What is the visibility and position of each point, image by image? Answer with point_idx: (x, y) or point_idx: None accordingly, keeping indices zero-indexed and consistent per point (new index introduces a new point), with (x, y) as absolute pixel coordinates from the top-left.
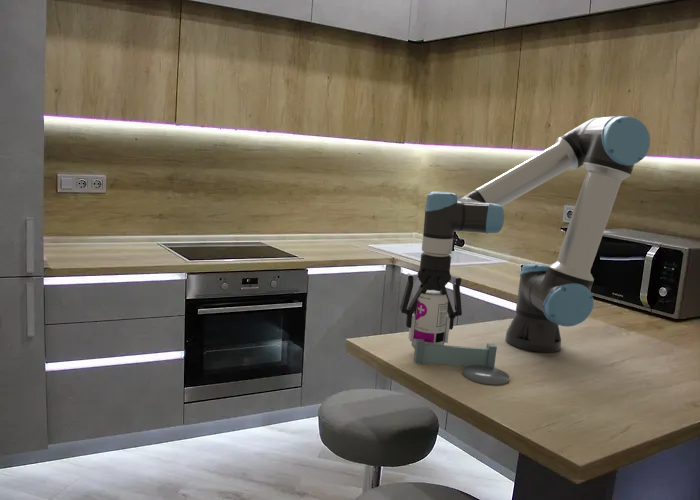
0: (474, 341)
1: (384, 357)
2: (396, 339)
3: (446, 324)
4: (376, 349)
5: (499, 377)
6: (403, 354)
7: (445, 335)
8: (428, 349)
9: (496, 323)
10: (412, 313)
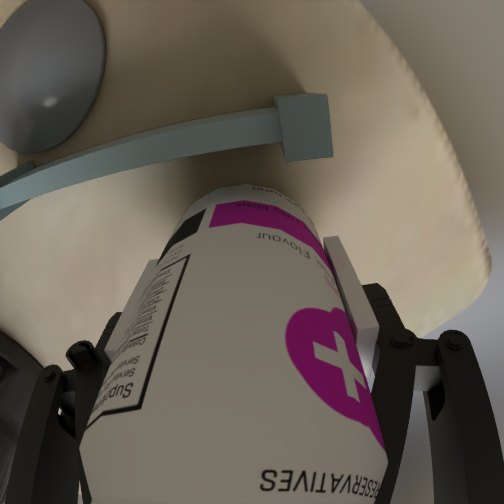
0: None
1: (428, 143)
2: None
3: None
4: (440, 228)
5: (1, 63)
6: (349, 198)
7: None
8: (248, 115)
9: None
10: (387, 345)
